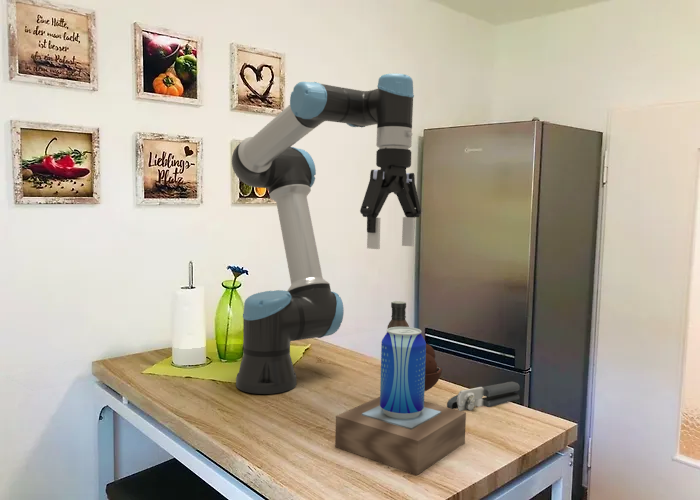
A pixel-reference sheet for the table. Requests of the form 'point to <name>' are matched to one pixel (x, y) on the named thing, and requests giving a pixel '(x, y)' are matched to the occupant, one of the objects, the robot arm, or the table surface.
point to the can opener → (493, 397)
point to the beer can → (402, 372)
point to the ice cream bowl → (431, 368)
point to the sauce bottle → (398, 315)
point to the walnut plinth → (401, 435)
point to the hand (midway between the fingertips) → (391, 247)
